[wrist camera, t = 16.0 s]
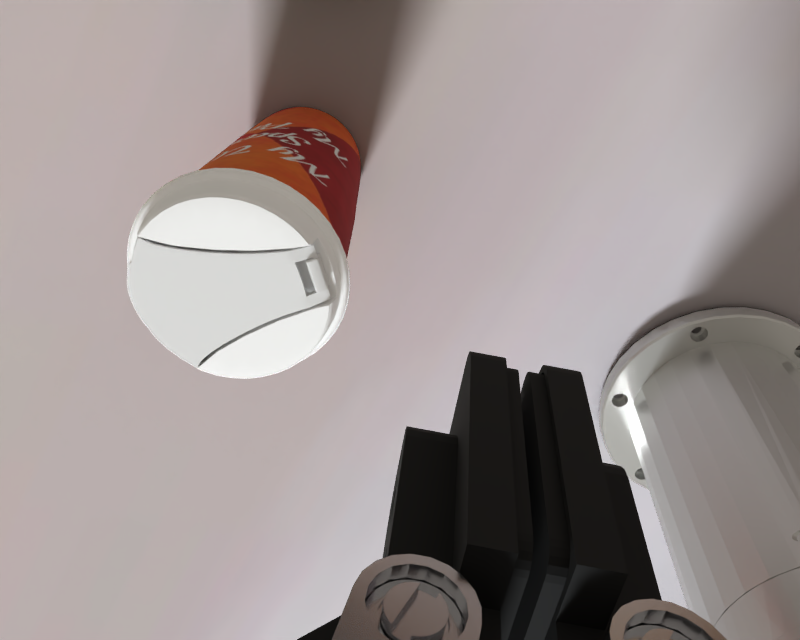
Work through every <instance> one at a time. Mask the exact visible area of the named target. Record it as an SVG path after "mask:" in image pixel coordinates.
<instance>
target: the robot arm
mask: <svg viewBox="0 0 800 640" xmlns="http://www.w3.org/2000/svg"><path fill="white" fill-rule="evenodd" d="M695 328H696V329H695ZM598 411H599V425H600V430H601V433H602V437H603V441H604V444H605V447H606V449H607V451H608V453H609V455H610V457H611V459H612V460H613V462H614V463H615V464H616V465H613V464H607V463H602V459H601V454H600V450H599V446H598V441H597V437H596V433H595V429H594V424H593V420H592V416H591V412H590V407H589V403H588V399H587V394H586V390H585V386H584V382H583V377H582V374H581V372H579V371H574V370H568V369H563V368H557V367H552V366H546V365H543V366H542V368H541V370H540V372H539V374H538V373H532V372H528V373H527V375H526V377H525V380H524V383H523V387H522V390H521V394H520V383H519V372H518V370H516V369H511V368H507V364H506V358H503V357H497V356H492V355H487V354H481V353H476V352H469V354H468V357H467V361H466V365H465V369H464V374H463V378H462V382H461V387H460V391H459V395H458V400H457V404H456V408H455V412H454V417H453V421H452V425H451V430H450V434H445V433H440V432H435V431H429V430H424V429H418V428H413V427H408V426H407V427H406V430H405V435H404V440H403V445H402V450H401V455H400V460H399V465H398V470H397V475H396V481H395V486H394V492H393V497H392V503H391V509H390V515H389V521H388V527H387V534H386V540H385V547H384V553H383V558H382V559H379V560H377V561H375V562H374V563H372V564H371V565H370V566H368V567H367V568H366V569H364V570H363V571H362V572H361V574H360V575H359V577H358V579H357V580H356V582H355V583H354V585H353V587H352V590H351V593H350V595H349V598H348V600H347V603H346V605H345V608H344V610H343V613H342V615H341V616H339V617H337V618H336V619H334V620H332V621H330V622H328V623H326V624H325V625H323V626H321V627H319V628H317V629H315V630H314V631H312V632H310V633H308V634H306V635H305V636H303V637H301V638H299V639H297V640H800V325H798V324H797V323H795V322H793V321H792V320H790V319H789V318H786V317H783V316H780V315H778V314H775V313H772V312H769V311H765V310H758V309H752V308H746V307H725V308H715V309H709V310H703V311H697V312H694V313H691V314H688V315H685V316H682V317H679V318H676V319H673V320H671V321H669V322H667V323H666V324H664V325H662V326H660V327H658V328H656V329H654V330H652V331H651V332H649V333H648V334H647V335H645V336H644V337H643V338H641V339H640V340H638V341H637V342H636V343H634V344H633V345H632V346H631V347H630V348H629V350H628V351H627V352H626V353H625V354H624V355H623V356H622V357H621V358H620V359H619V360H618V362H617V363H616V365H615V366H614V368H613V369H612V371H611V372H610V374H609V375H608V378H607V380H606V382H605V385H604V387H603V390H602V392H601V398H600V404H599V410H598ZM628 478H630V479H631V480H632V481H633V482H635V483H636V484H638V485H640V486H642V487H644V488H646V489H648V490H649V491H650V494H651V497H652V500H653V503H654V506H655V509H656V513H657V516H658V519H659V522H660V525H661V528H662V531H663V534H664V537H665V540H666V543H667V546H668V549H669V552H670V555H671V558H672V561H673V564H674V568H675V571H676V574H677V577H678V580H679V583H680V586H681V589H682V592H683V595H684V598H685V601H686V604H687V607H688V609H686V608H684V607H681V606H679V605H677V604H674V603H672V602H667V601H662V600H661V596H660V592H659V589H658V585H657V581H656V578H655V574H654V570H653V567H652V563H651V560H650V556H649V552H648V549H647V545H646V541H645V538H644V534H643V530H642V527H641V523H640V520H639V516H638V512H637V509H636V505H635V501H634V498H633V494H632V490H631V487H630V483H629V479H628Z"/></svg>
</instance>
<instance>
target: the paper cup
mask: <svg viewBox="0 0 800 640" xmlns="http://www.w3.org/2000/svg"><path fill="white" fill-rule="evenodd" d="M360 175H361V162H360V156H359V151H358V148H357V146H356V143H355V141H354V139H353V137H352V136H351V134H350V133H349V131H348V130H347V129H346V128H345V127H344V125H343V124H342V123H340V122H339V121H338V120H337V119H335V118H334V117H333V116H331V115H329V114H327V113H325V112H323V111H320V110H317V109H314V108H308V107H293V108H288V109H284V110H281V111H278V112H276V113H274V114H272V115H271V116H269V117H267V118H266V119H264V120H263V121H261V122H260V123H259V124H257V125H256V126H254V127H253V128H252V129H250V130H249V131H248V132H247V133H245V134H244V135H243V136H241V137H240V138H239V139H237V140H236V141H235V142H234V143H232V144H231V145H230V146H229V147H227V148H226V149H225V150H223V151H222V152H221V153H220V154H218V155H217V156H216V157H215V158H213V159H212V160H211V161H210V162H208V163H207V164H206V165H205V166H203V167H202V168H201V169H199V170H197V171H194V172H191V173H188V174H185V175H182V176H180V177H178V178H176V179H174V180H172V181H170V182H168V183H167V184H165V185H164V186H163V187H161V188H160V189H159V190H158V191H156V192H155V193H154V194H153V195H152V196H151V197H150V198H149V199H148V200H147V202H146V203H145V204H144V205H143V206H142V208H141V209H140V211H139V213H138V215H137V216H136V218H135V220H134V223H133V226H132V229H131V231H130V234H129V240H128V247H127V265H128V270H127V289H128V294H129V297H130V299H131V302H132V304H133V306H134V308H135V310H136V312H137V314H138V316H139V317H140V319H141V320H142V322H143V323H144V324H145V325H146V327H148V329H149V330H150V332H151V333H152V334H153V336H154V337H155V338H156V339H157V340H158V341H159V342H160V343H161V344H162V345H163V346H164V347H165V348H167V349H168V350H169V351H171V352H172V353H174V354H175V355H176V356H178V357H179V358H181V359H182V360H184V361H185V362H187V363H189V364H190V365H192V366H193V367H195V368H197V369H199V370H201V371H204V372H207V373H210V374H214V375H217V376H223V377H229V378H243V379H249V378H259V377H265V376H269V375H273V374H277V373H279V372H281V371H284V370H286V369H289V368H291V367H292V366H294V365H296V364H297V363H299V362H300V361H302V360H304V359H306V358H307V357H309V356H310V355H312V354H314V353H315V352H317V351H318V350H319V349H320V348H321V347H322V346H323V345H325V344H326V343H327V342H328V340H329V339H330V338H331V337H332V335H333V334H334V333H335V332H336V330H337V328H338V327H339V325H340V323H341V321H342V319H343V317H344V314H345V311H346V308H347V304H348V300H349V292H350V273H349V267H348V262H347V255H348V250H349V245H350V240H351V235H352V230H353V225H354V220H355V212H356V204H357V198H358V191H359V185H360Z"/></svg>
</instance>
